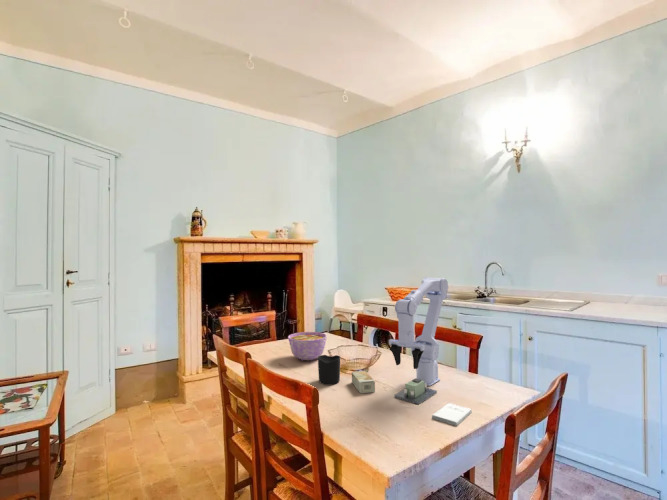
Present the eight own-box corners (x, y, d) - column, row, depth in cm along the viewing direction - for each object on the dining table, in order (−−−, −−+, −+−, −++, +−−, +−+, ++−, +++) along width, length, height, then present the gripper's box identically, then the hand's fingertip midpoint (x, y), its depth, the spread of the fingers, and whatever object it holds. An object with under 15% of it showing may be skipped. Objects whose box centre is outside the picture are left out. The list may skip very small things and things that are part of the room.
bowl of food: (281, 362, 177) (281, 339, 178) (297, 352, 197) (297, 331, 197) (319, 365, 172) (319, 341, 172) (332, 354, 191) (331, 332, 191)
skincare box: (359, 382, 137) (350, 372, 149) (359, 393, 137) (351, 382, 149) (375, 380, 138) (365, 370, 150) (375, 391, 138) (365, 381, 150)
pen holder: (327, 387, 144) (327, 362, 144) (313, 381, 151) (313, 357, 151) (345, 381, 150) (344, 357, 150) (331, 375, 157) (330, 353, 157)
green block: (415, 389, 138) (414, 377, 138) (424, 391, 135) (424, 379, 135) (405, 394, 133) (405, 382, 133) (415, 397, 130) (414, 384, 130)
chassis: (413, 386, 143) (413, 378, 143) (436, 392, 136) (436, 384, 136) (394, 397, 133) (394, 388, 133) (418, 404, 126) (418, 395, 126)
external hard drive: (431, 419, 115) (448, 407, 125) (456, 427, 110) (471, 413, 119) (431, 414, 115) (447, 402, 125) (456, 422, 110) (471, 408, 119)
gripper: (384, 330, 140) (385, 365, 140) (418, 335, 130) (419, 372, 130) (394, 327, 145) (394, 361, 145) (427, 331, 136) (428, 368, 135)
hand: (406, 366), depth 138 cm, fingers open, 7 cm apart
